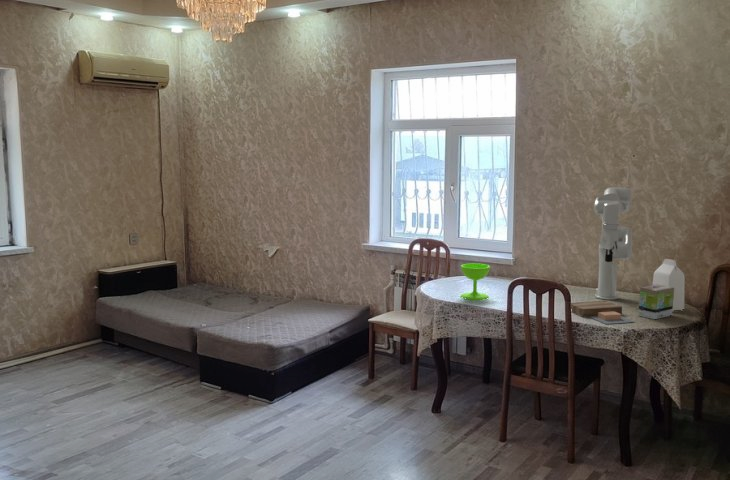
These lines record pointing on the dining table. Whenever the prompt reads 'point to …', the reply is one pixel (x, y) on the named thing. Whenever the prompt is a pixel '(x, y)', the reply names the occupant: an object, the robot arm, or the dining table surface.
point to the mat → (622, 320)
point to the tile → (609, 315)
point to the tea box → (656, 301)
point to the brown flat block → (594, 308)
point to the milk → (671, 281)
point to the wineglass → (475, 279)
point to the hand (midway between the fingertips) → (608, 261)
